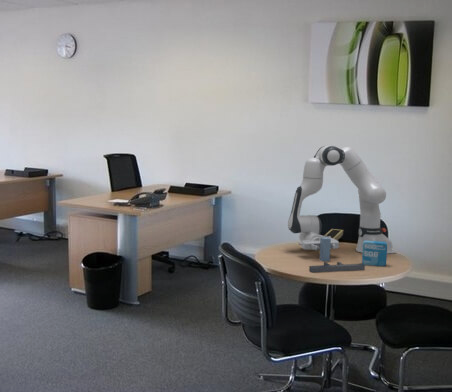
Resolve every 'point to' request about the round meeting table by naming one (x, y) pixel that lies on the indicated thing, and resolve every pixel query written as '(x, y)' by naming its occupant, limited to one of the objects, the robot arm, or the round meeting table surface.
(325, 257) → the square post
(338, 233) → the box
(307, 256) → the round meeting table surface
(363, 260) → the blue printed carton
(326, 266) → the rail bracket
